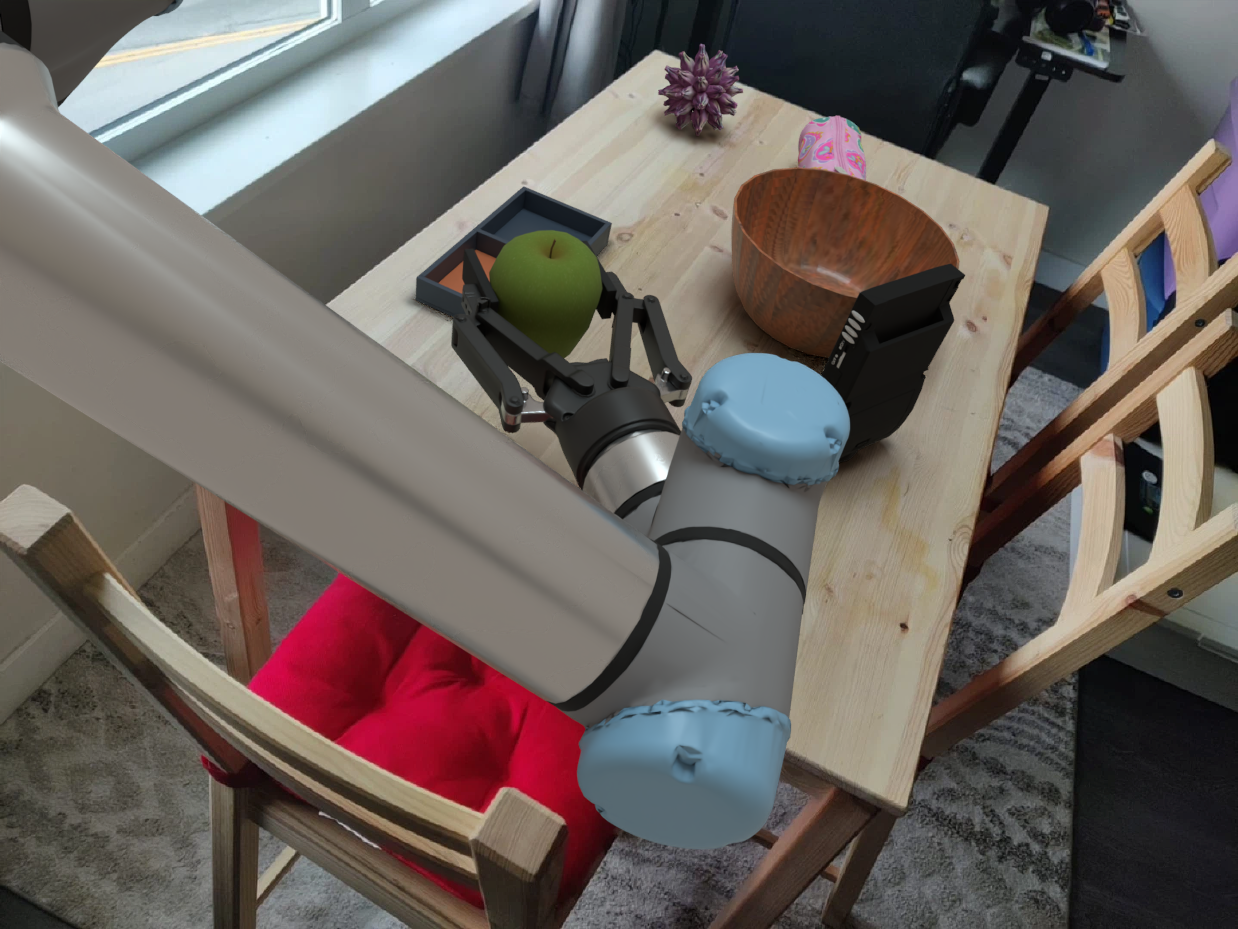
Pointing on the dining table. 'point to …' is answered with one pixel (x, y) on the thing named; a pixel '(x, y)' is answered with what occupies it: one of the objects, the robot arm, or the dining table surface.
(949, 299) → the black electronic device
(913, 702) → the dining table surface
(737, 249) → the bowl
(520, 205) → the tray
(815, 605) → the dining table surface
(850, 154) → the pencil case
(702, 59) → the flower
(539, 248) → the apple
